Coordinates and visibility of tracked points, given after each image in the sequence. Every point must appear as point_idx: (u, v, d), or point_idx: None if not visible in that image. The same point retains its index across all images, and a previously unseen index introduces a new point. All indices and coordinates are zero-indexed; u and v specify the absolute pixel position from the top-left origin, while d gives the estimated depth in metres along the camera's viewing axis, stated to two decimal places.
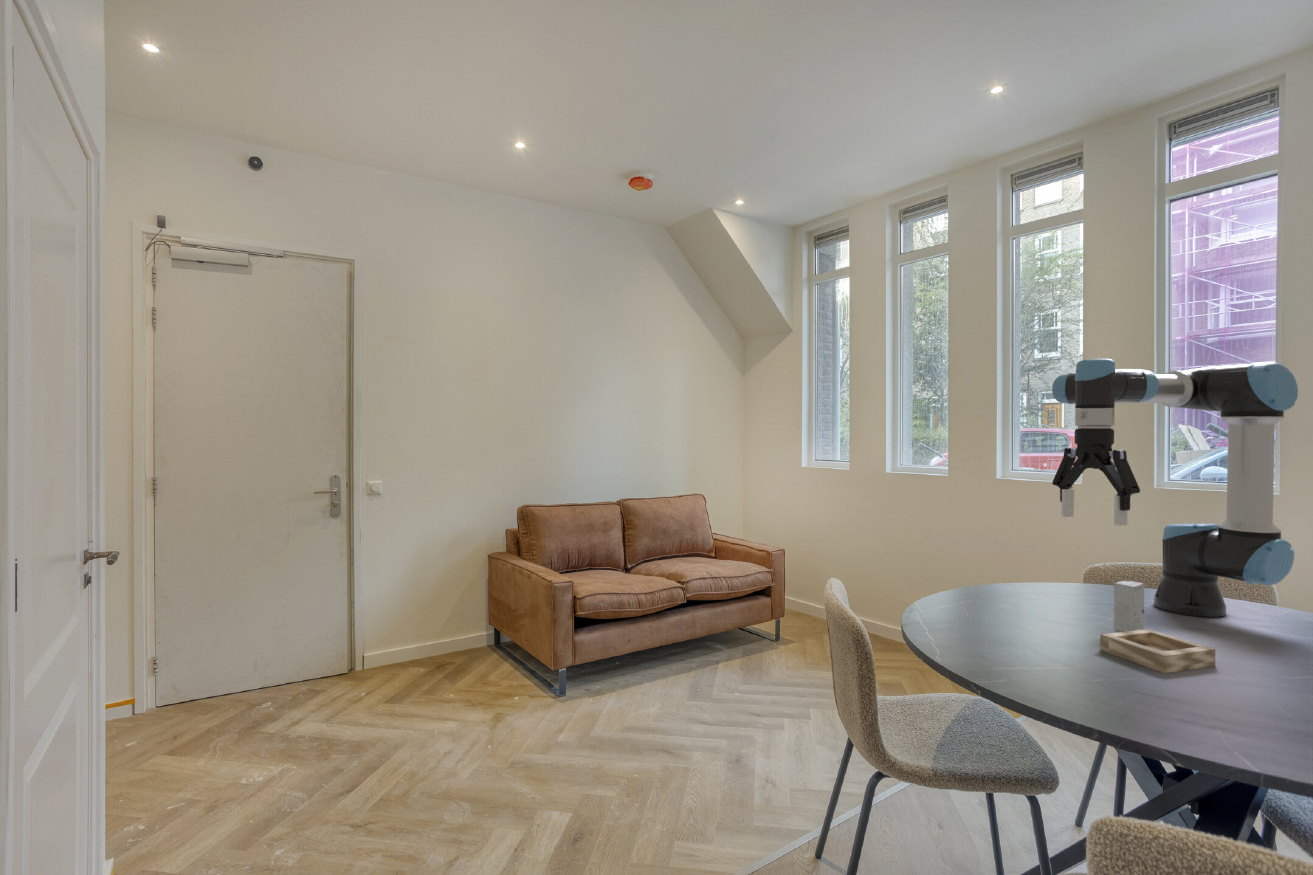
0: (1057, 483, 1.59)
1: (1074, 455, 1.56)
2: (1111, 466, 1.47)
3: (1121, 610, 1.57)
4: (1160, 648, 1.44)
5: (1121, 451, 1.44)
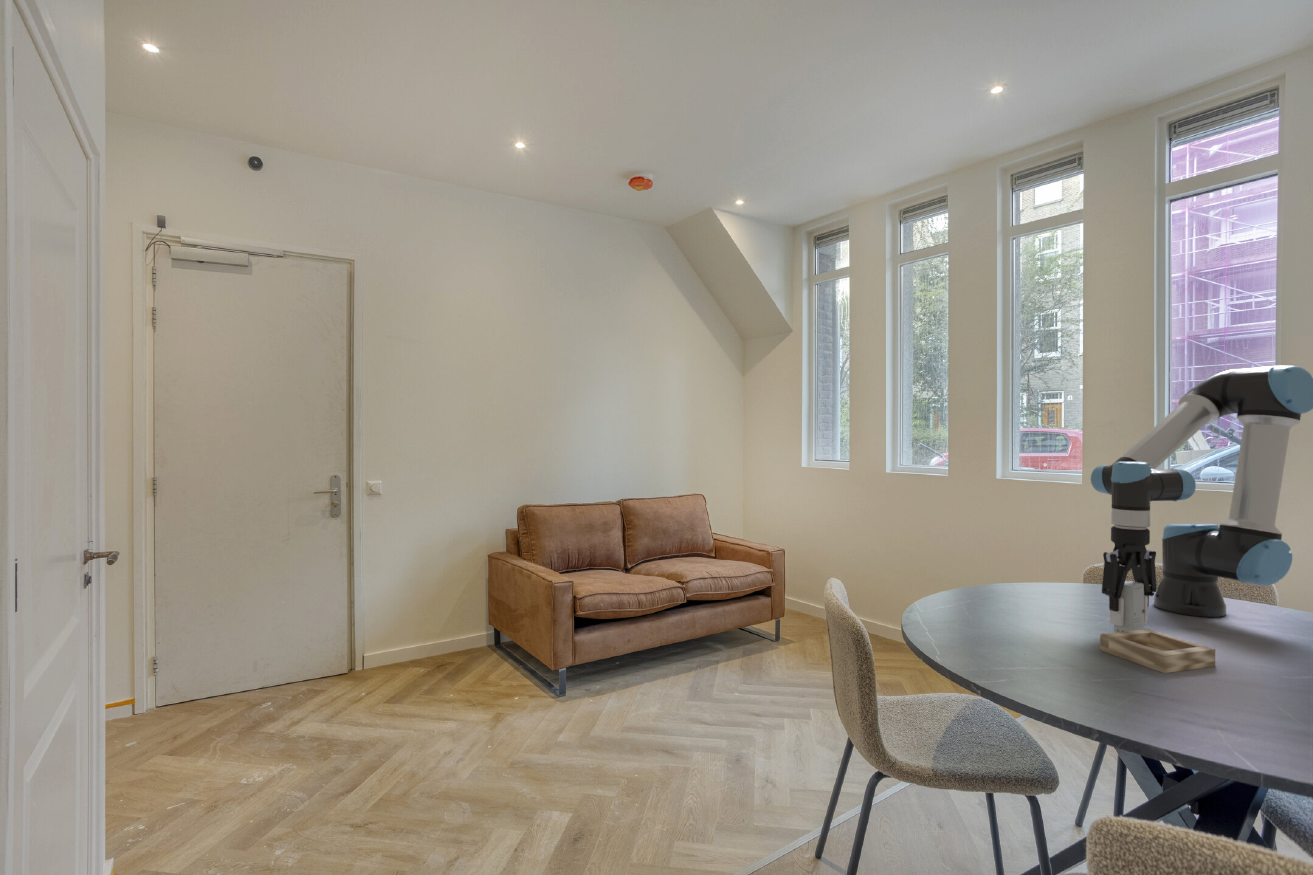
0: None
1: None
2: (1121, 567, 1.56)
3: None
4: (1160, 648, 1.44)
5: (1108, 555, 1.56)
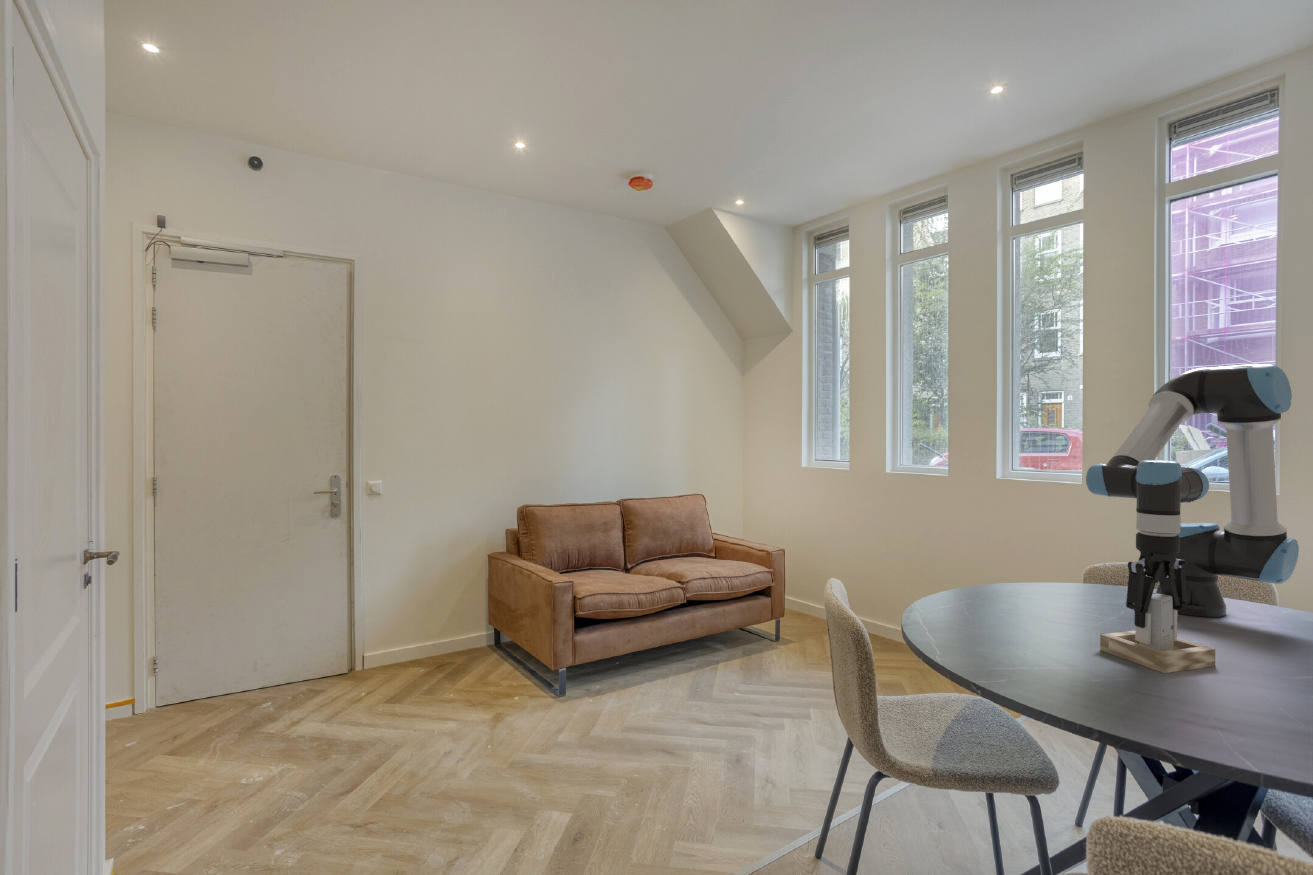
0: None
1: None
2: (1148, 579, 1.40)
3: None
4: None
5: (1133, 565, 1.39)
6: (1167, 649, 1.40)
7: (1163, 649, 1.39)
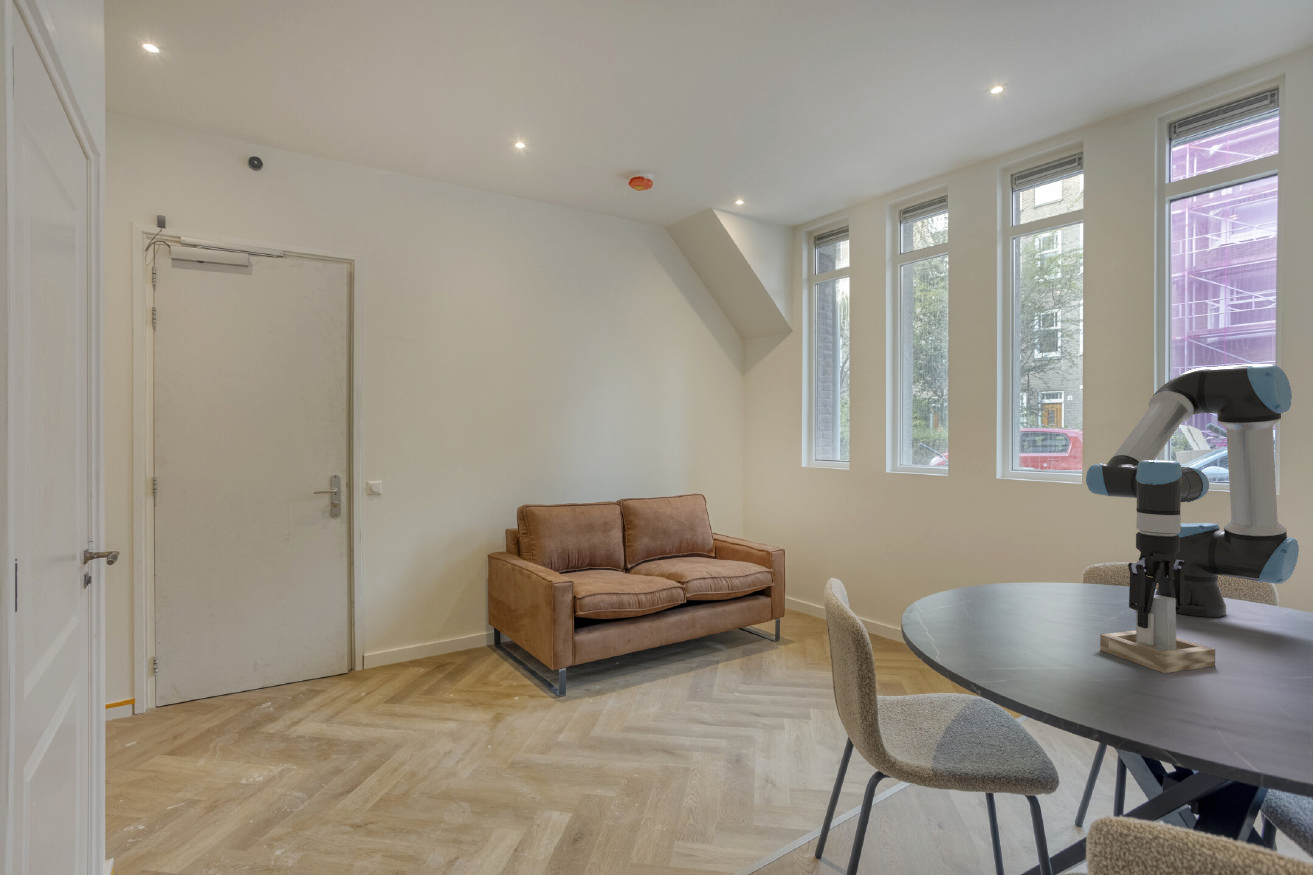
0: None
1: None
2: (1149, 579, 1.40)
3: (1171, 628, 1.39)
4: None
5: (1133, 566, 1.39)
6: None
7: None
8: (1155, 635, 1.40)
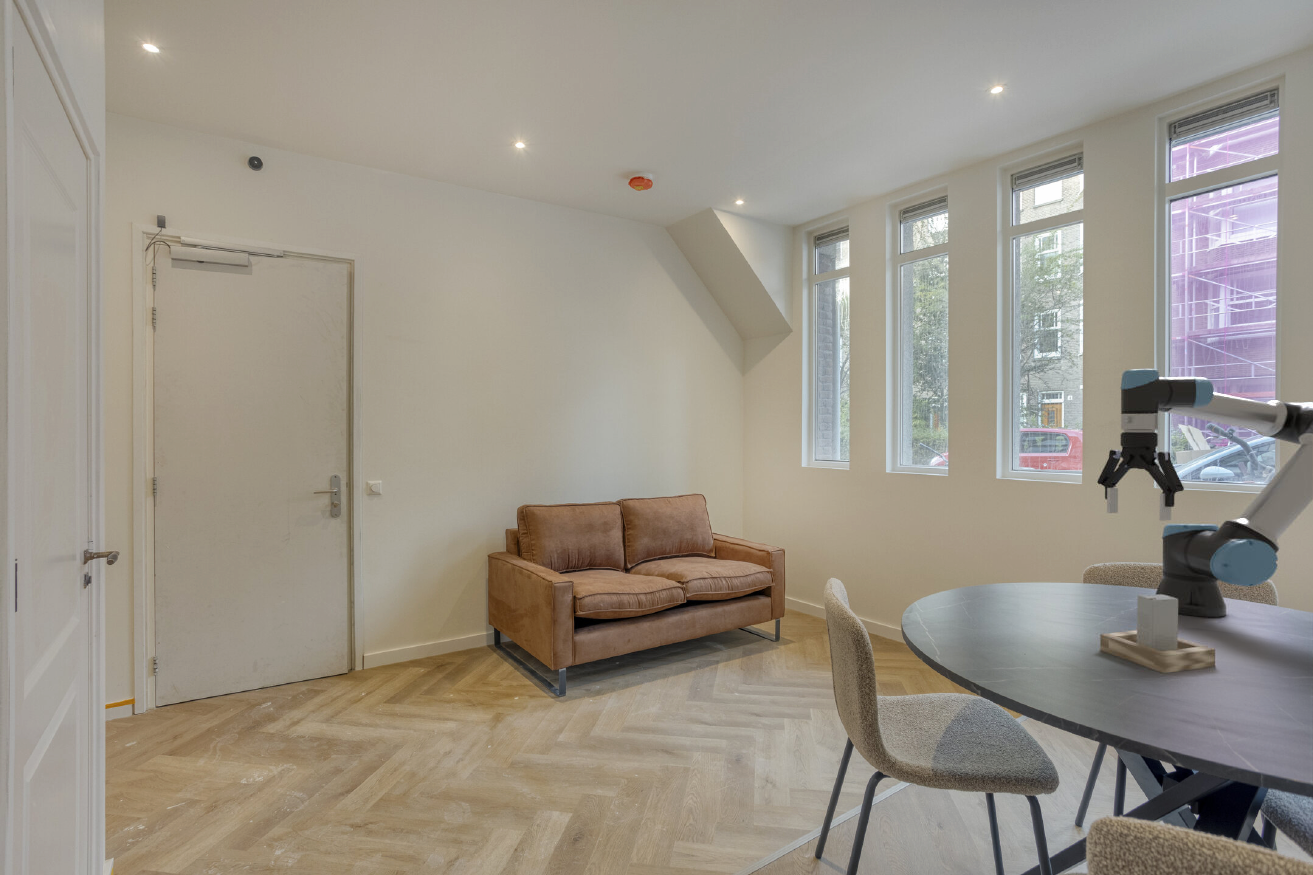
0: (1102, 482, 1.74)
1: (1119, 456, 1.70)
2: (1155, 467, 1.62)
3: None
4: None
5: (1166, 453, 1.59)
6: None
7: None
8: (1168, 636, 1.40)
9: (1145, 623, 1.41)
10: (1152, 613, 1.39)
